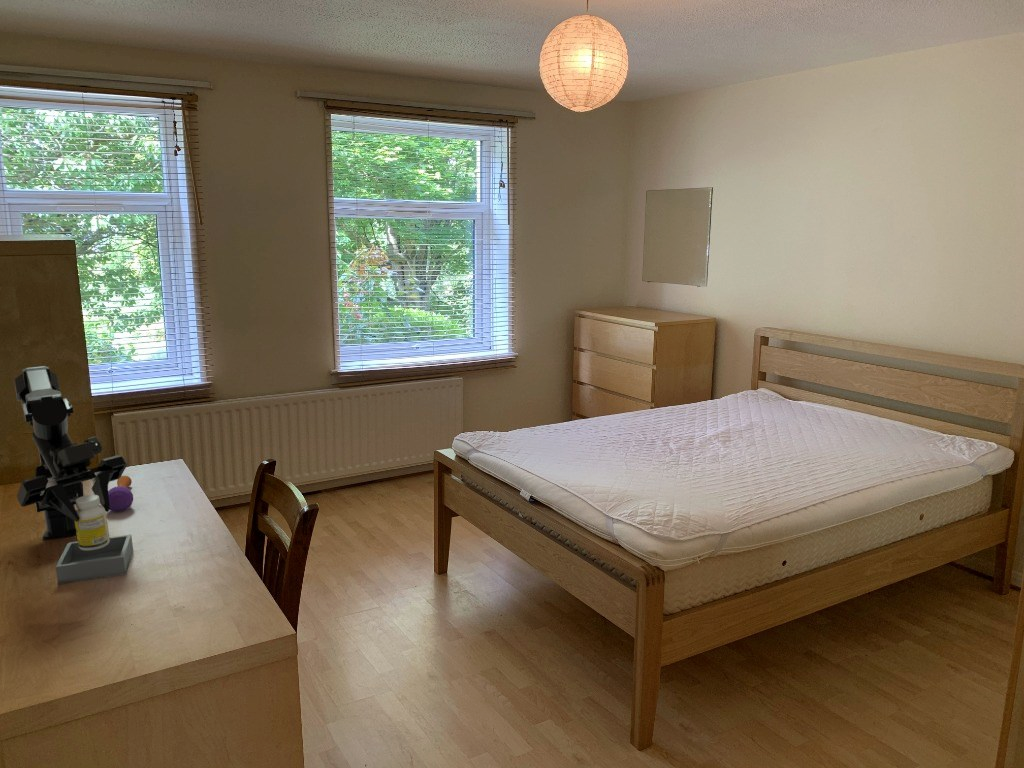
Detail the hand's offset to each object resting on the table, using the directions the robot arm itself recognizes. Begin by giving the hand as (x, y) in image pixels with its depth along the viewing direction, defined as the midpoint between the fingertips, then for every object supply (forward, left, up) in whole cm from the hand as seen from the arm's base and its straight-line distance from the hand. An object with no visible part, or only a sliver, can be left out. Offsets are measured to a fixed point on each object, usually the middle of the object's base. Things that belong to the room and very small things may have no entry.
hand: (93, 515), depth 145 cm
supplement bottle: (-1, -1, -7) cm, 7 cm away
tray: (-1, -1, -11) cm, 11 cm away
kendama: (-39, -1, -11) cm, 41 cm away
